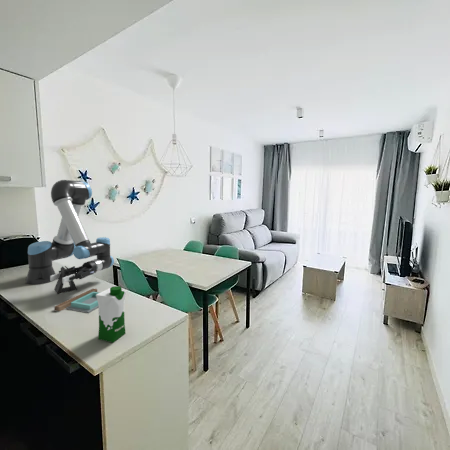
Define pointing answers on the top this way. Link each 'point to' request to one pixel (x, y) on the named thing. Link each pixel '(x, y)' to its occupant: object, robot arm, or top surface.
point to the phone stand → (59, 283)
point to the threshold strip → (68, 302)
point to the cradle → (85, 303)
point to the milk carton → (111, 314)
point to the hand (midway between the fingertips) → (56, 279)
